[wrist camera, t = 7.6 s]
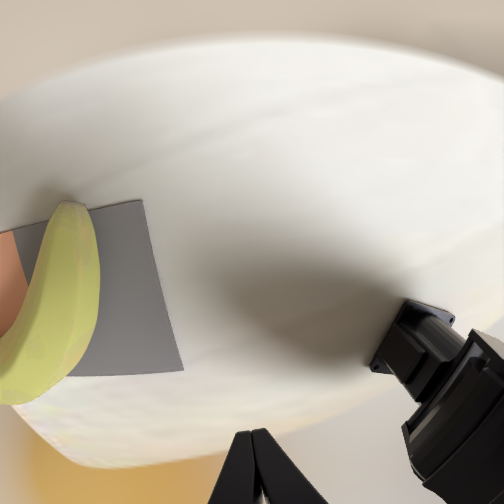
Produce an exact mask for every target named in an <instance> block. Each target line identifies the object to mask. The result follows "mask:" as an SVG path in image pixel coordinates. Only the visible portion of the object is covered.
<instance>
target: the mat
mask: <svg viewBox="0 0 504 504" xmlns="http://www.w3.org/2000/svg"><path fill="white" fill-rule="evenodd" d="M88 213H89V216H90V218H91V221H92V224H93V227H94V231H95V236H96V242H97V248H98V255H99V263H100V293H99V306H98V316H97V321H96V325H95V329H94V331H93V334H92V337H91V339H90V342H89V344H88V347H87V349H86V350H85V352H84V354H83V356H82V358H81V359H80V361H79V362H78V363H77V365H76V366H75V367H74V368H73V369H72V370H71V371H70V372H69V373H68V374H67V375H66V376H115V375H135V374H150V373H163V372H174V371H184V368H183V365H182V362H181V359H180V355H179V352H178V349H177V345H176V342H175V338H174V335H173V331H172V328H171V324H170V321H169V317H168V313H167V310H166V306H165V302H164V298H163V294H162V290H161V286H160V282H159V278H158V274H157V269H156V265H155V261H154V256H153V252H152V247H151V242H150V238H149V233H148V228H147V223H146V218H145V212H144V207H143V202H142V200H139V201H134V202H129V203H124V204H119V205H114V206H109V207H104V208H100V209H95V210H91V211H88ZM48 223H49V221H45V222H41V223H37V224H33V225H29V226H26V227H22V228H18V229H15V230H12V231H13V236H14V240H15V243H16V247H17V251H18V255H19V258H20V262H21V265H22V268H23V271H24V275H25V278H26V281H27V284H28V287H29V285H30V282H31V279H32V276H33V272H34V269H35V265H36V262H37V258H38V254H39V251H40V247H41V244H42V240H43V237H44V234H45V231H46V228H47V225H48Z"/></svg>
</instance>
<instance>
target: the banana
mask: <svg viewBox="0 0 504 504" xmlns="http://www.w3.org/2000/svg"><path fill="white" fill-rule="evenodd" d="M99 293H100V263H99V255H98V248H97V242H96V236H95V231H94V227H93V224H92V221H91V218H90V216H89V213H88V211H87V208H86V206H85V204H81V203H76V202H71V201H65V200H61V202H60V203H59V205H58V207H57V208H56V210H55V212H54V213H53V215H52V217H51V218H50V220H49V223H48V225H47V228H46V231H45V234H44V237H43V240H42V244H41V247H40V251H39V254H38V258H37V262H36V265H35V269H34V272H33V276H32V279H31V282H30V285H29V288H28V291H27V294H26V296H25V299H24V302H23V305H22V307H21V310H20V312H19V314H18V316H17V318H16V320H15V322H14V323H13V325H12V326H11V328H10V329H9V330H8V331H7V332H6V333H5V335H4V336H3V337H2V338H0V404H6V405H19V404H24V403H27V402H29V401H32V400H34V399H35V398H37V397H39V396H40V395H42V394H43V393H45V392H46V391H48V390H49V389H50V388H52V387H53V386H54V385H56V384H57V383H58V382H59V381H61V380H62V379H63V378H64V377H65V376H66V375H67V374H68V373H69V372H70V371H71V370H72V369H73V368H74V367H75V366H76V365H77V363H78V362H79V361H80V359H81V358H82V356H83V354H84V352H85V350H86V349H87V347H88V344H89V342H90V339H91V337H92V334H93V331H94V329H95V325H96V321H97V316H98V306H99Z"/></svg>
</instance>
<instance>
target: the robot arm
mask: <svg viewBox="0 0 504 504" xmlns="http://www.w3.org/2000/svg"><path fill="white" fill-rule="evenodd" d="M409 306H410V307H409ZM408 307H409V308H408ZM454 321H455V316H454V315H453V314H452V313H449V312H446V311H443V310H440V309H437V308H433V307H430V306H427V305H424V304H421V303H418V302H415V301H412V300H407V301H406V302H404V304H403V305H402V307H401V309H400V311H399V313H398V315H397V317H396V319H395V321H394V323H393V324H392V326H391V328H390V330H389V332H388V334H387V335H386V337H385V339H384V341H383V342H382V344H381V346H380V348H379V349H378V351H377V353H376V354H375V356H374V358H373V359H372V361H371V363H370V365H369V368H370V370H371V371H372V372H376V373H383V374H392V375H395V376H396V378H397V379H398V380H399V382H400V383H401V384H402V385H403V386H404V387H405V389H406V390H407V391H408V393H409V394H410V395H411V397H412V398H413V399H414V401H415V402H417V403H418V405H419V406H420V407H419V408H418V409H417V410H416V412H415V413H414V414H413V415H412V416H411V417H410V419H409V420H408V421H406V422H405V423H404V424H403V425H402V426H401V428H402V432H403V436H404V440H405V444H406V447H407V451H408V455H409V460H410V464H411V467H412V469H413V472H414V474H415V475H416V476H417V477H418V478H419V479H420V480H421V481H422V482H423V483H422V485H423V486H424V487H425V488H427V489H429V490H431V491H433V492H434V493H436V494H437V495H438V496H439V497H441V498H442V499H443V500H444V501H445V502H446V503H447V504H504V343H503V342H501V341H500V340H498V339H496V338H494V337H491V336H489V335H487V334H484V333H482V332H480V331H477V330H475V329H473V328H472V330H471V331H470V333H469V335H468V336H469V337H468V338H467V340H465V339H464V338H463V337H461V336H460V335H459V334H458V333H457V332H456V331H454V330H453V329H452V328H451V327H452V325H453V323H454ZM374 366H375V367H374ZM262 490H263V493H262ZM263 494H264V497H265V501H266V503H267V504H328V502H327V501H326V500H325V499H324V498H323V497H322V496H321V495H320V494H319V492H318V491H317V490H316V489H315V488H314V487H313V486H312V484H311V483H310V482H309V481H308V480H307V479H306V477H305V476H304V475H303V474H302V473H301V472H300V470H299V469H298V468H297V467H296V466H295V464H294V463H293V462H292V461H291V459H290V458H289V457H288V456H287V455H286V453H285V452H284V451H283V450H282V448H281V447H280V446H279V444H278V443H277V442H276V441H275V439H274V438H273V437H272V436H271V434H270V433H269V432H268V430H267V429H265V428H260V429H254V430H252V431H249V430H247V431H240V432H237V433H236V434H235V436H234V439H233V442H232V444H231V447H230V449H229V452H228V455H227V457H226V460H225V462H224V465H223V467H222V470H221V472H220V474H219V477H218V479H217V482H216V484H215V487H214V490H213V492H212V494H211V496H210V499H209V501H208V504H263Z"/></svg>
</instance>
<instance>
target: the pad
mask: <svg viewBox="0 0 504 504" xmlns="http://www.w3.org/2000/svg"><path fill="white" fill-rule="evenodd" d="M28 288H29V287H28V284H27V281H26V278H25V275H24V271H23V268H22V265H21V262H20V258H19V255H18V251H17V247H16V243H15V240H14V236H13V231H12V230H11V231H8V232H4V233H1V234H0V338H2V337H3V336H4V335H5V333H6V332H7V331H8V330H9V329H10V328H11V326H12V325H13V323H14V322H15V320H16V318H17V316H18V314H19V312H20V310H21V307H22V305H23V302H24V299H25V296H26V294H27V291H28Z"/></svg>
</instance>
